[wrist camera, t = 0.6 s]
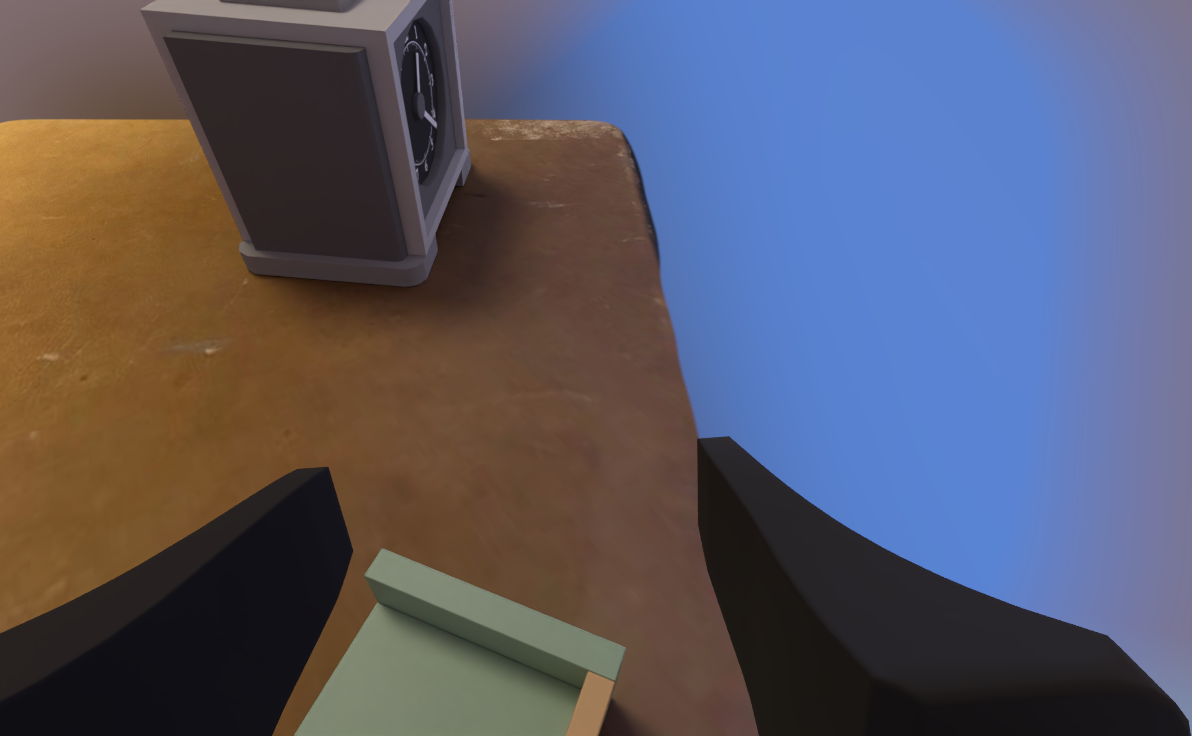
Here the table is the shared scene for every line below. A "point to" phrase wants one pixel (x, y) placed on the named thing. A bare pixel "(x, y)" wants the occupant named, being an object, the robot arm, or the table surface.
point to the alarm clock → (324, 127)
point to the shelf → (462, 665)
